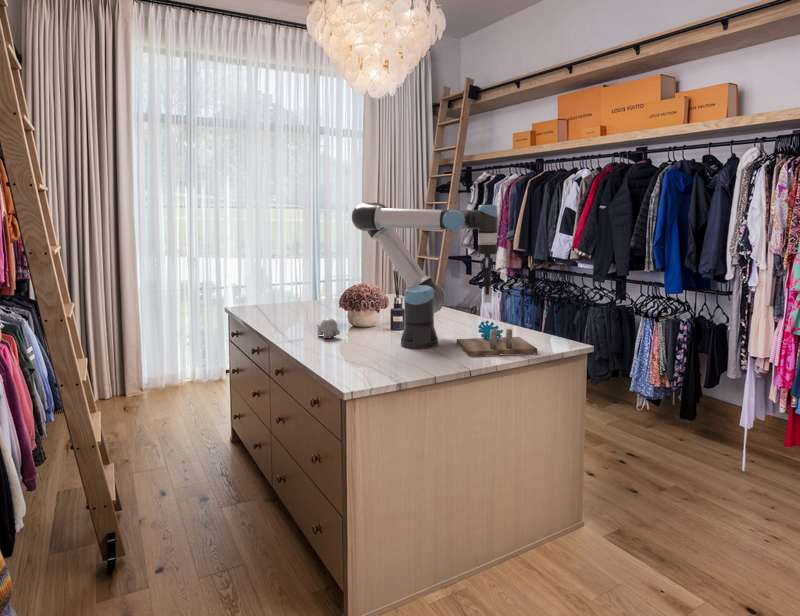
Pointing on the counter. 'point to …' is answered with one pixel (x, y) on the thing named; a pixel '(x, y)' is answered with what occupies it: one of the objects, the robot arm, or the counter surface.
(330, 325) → the chubby cartoon animal
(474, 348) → the dowel plate
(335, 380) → the counter surface
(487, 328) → the gear
